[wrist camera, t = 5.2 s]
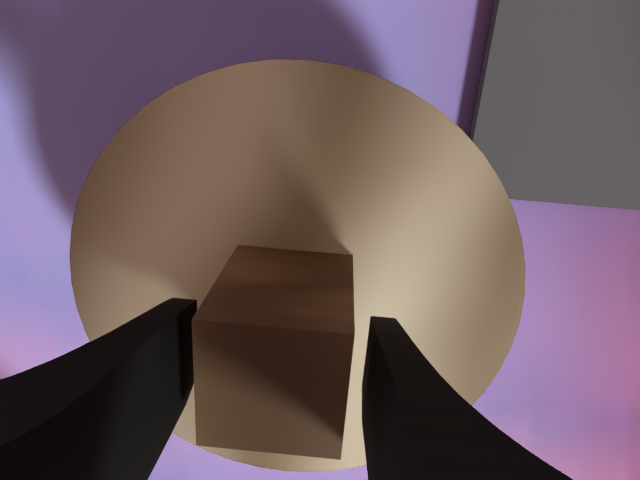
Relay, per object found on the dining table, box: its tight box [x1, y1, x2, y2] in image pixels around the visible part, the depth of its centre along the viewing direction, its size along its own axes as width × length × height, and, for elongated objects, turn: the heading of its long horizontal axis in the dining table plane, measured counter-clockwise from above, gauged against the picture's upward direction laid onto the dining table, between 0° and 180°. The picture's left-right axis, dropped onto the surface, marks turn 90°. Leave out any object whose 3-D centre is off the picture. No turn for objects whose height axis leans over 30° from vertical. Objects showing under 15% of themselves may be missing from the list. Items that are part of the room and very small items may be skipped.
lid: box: [70, 60, 525, 472], centre depth 12 cm, size 13×13×5 cm
